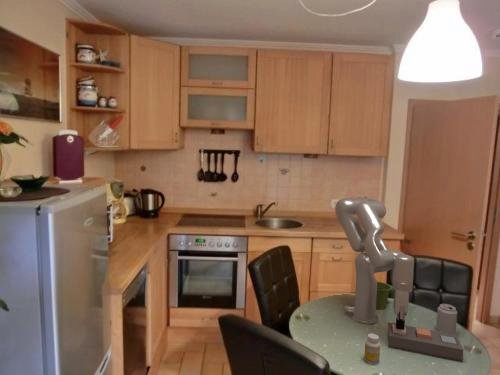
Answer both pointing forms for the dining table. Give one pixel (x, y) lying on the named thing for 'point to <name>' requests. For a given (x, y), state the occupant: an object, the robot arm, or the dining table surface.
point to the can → (446, 319)
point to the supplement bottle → (372, 349)
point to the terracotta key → (423, 333)
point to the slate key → (448, 339)
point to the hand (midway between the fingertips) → (399, 328)
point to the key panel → (425, 344)
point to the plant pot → (382, 295)
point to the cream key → (398, 330)
